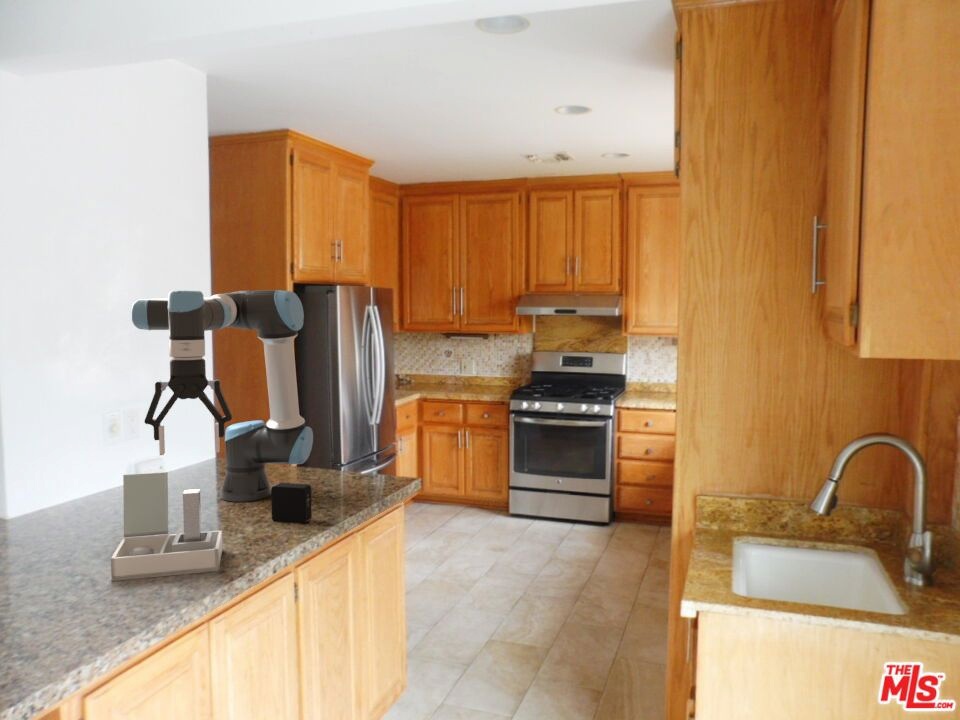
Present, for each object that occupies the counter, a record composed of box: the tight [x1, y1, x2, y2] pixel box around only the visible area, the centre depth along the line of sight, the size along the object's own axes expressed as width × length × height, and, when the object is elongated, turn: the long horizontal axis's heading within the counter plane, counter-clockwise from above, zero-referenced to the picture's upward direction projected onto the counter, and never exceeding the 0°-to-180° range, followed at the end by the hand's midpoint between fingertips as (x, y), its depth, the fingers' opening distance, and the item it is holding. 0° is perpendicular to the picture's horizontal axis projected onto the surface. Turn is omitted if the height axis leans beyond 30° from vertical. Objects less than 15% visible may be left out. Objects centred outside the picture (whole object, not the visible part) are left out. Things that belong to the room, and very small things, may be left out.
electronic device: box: [270, 482, 312, 525], centre depth 198 cm, size 4×10×10 cm, turn 78°
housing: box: [110, 530, 224, 582], centre depth 165 cm, size 14×22×6 cm, turn 106°
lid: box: [122, 471, 169, 538], centre depth 170 cm, size 15×10×1 cm
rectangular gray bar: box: [182, 488, 202, 542], centre depth 166 cm, size 3×3×16 cm
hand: (190, 452), depth 164 cm, fingers open, 11 cm apart
